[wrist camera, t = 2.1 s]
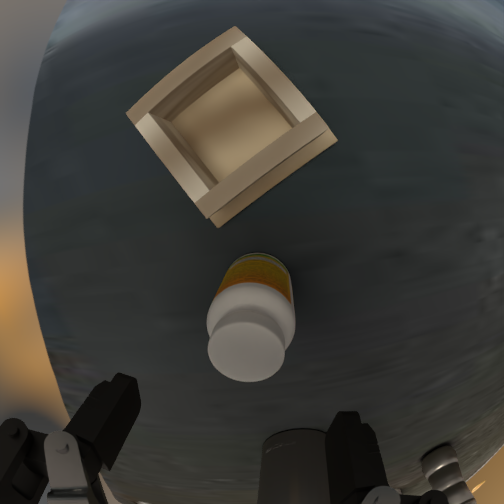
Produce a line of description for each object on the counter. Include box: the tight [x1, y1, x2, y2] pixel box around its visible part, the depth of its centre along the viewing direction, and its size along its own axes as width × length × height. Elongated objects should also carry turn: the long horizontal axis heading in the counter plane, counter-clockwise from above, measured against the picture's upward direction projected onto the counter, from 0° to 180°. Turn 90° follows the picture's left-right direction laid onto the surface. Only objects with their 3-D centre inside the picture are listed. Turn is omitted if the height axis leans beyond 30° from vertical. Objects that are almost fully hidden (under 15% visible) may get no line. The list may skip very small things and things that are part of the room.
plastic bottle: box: [421, 445, 476, 504], centre depth 20 cm, size 6×7×20 cm
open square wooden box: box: [126, 26, 338, 228], centre depth 17 cm, size 11×11×5 cm
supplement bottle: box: [207, 253, 295, 382], centre depth 18 cm, size 5×5×10 cm
